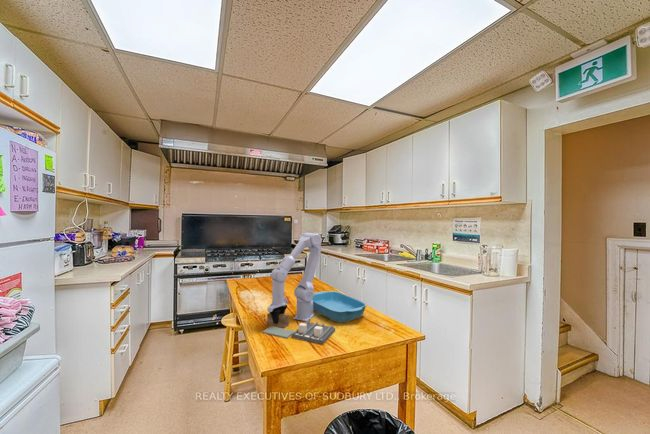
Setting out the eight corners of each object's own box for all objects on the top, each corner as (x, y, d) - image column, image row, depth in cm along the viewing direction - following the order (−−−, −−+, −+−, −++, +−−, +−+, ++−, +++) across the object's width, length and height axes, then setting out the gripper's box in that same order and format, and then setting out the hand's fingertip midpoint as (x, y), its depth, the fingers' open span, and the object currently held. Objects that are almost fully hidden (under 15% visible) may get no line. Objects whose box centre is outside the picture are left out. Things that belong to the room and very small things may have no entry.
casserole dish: (301, 306, 155) (301, 294, 155) (332, 299, 167) (332, 288, 167) (339, 329, 124) (340, 314, 124) (374, 319, 137) (374, 305, 137)
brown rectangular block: (271, 321, 132) (271, 311, 131) (288, 325, 127) (288, 315, 127) (267, 324, 128) (267, 314, 128) (284, 328, 124) (284, 317, 124)
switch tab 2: (316, 333, 115) (316, 325, 115) (322, 334, 114) (322, 327, 114) (313, 336, 113) (313, 328, 113) (320, 337, 112) (320, 329, 112)
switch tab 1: (301, 330, 119) (301, 322, 119) (307, 331, 117) (307, 323, 117) (298, 332, 116) (298, 324, 116) (304, 333, 115) (304, 326, 115)
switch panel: (306, 325, 128) (306, 319, 128) (335, 330, 122) (335, 325, 122) (291, 337, 115) (291, 331, 115) (322, 344, 109) (322, 338, 109)
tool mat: (270, 327, 125) (270, 325, 125) (294, 332, 120) (294, 331, 120) (262, 332, 119) (262, 331, 119) (287, 338, 114) (287, 337, 114)
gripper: (276, 299, 119) (276, 329, 120) (293, 290, 133) (292, 317, 133) (264, 297, 122) (263, 326, 122) (281, 289, 136) (280, 315, 136)
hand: (278, 321), depth 128 cm, fingers closed on brown rectangular block, 4 cm apart
